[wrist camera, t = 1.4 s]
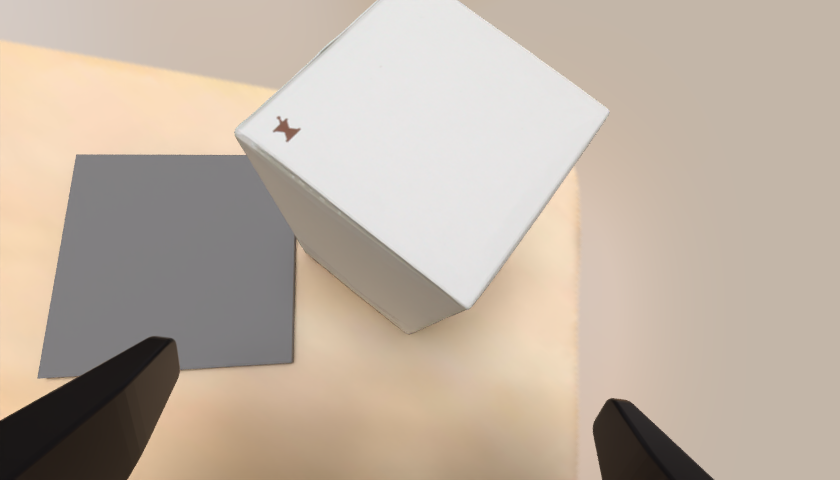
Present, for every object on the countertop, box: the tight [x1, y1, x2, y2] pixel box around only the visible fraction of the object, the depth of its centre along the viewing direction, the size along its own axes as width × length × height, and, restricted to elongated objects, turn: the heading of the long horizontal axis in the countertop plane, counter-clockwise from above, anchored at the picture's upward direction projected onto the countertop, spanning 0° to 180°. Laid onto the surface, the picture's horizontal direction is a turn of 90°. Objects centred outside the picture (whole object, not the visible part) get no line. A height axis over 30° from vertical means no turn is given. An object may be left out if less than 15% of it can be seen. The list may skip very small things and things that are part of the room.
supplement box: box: [234, 0, 610, 334], centre depth 16 cm, size 7×7×13 cm
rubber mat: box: [37, 155, 296, 379], centre depth 21 cm, size 11×11×1 cm
